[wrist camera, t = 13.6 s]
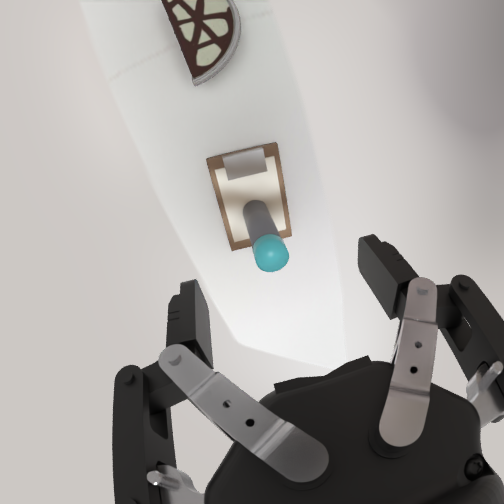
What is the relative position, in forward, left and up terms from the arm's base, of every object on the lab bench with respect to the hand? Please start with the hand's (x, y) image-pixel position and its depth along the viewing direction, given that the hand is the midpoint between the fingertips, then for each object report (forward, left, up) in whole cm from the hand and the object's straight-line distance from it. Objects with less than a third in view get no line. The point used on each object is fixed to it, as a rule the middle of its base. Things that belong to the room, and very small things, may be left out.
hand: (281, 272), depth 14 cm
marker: (+10, +1, -25) cm, 26 cm away
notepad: (+8, +1, -26) cm, 27 cm away
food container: (-15, 0, -26) cm, 30 cm away
